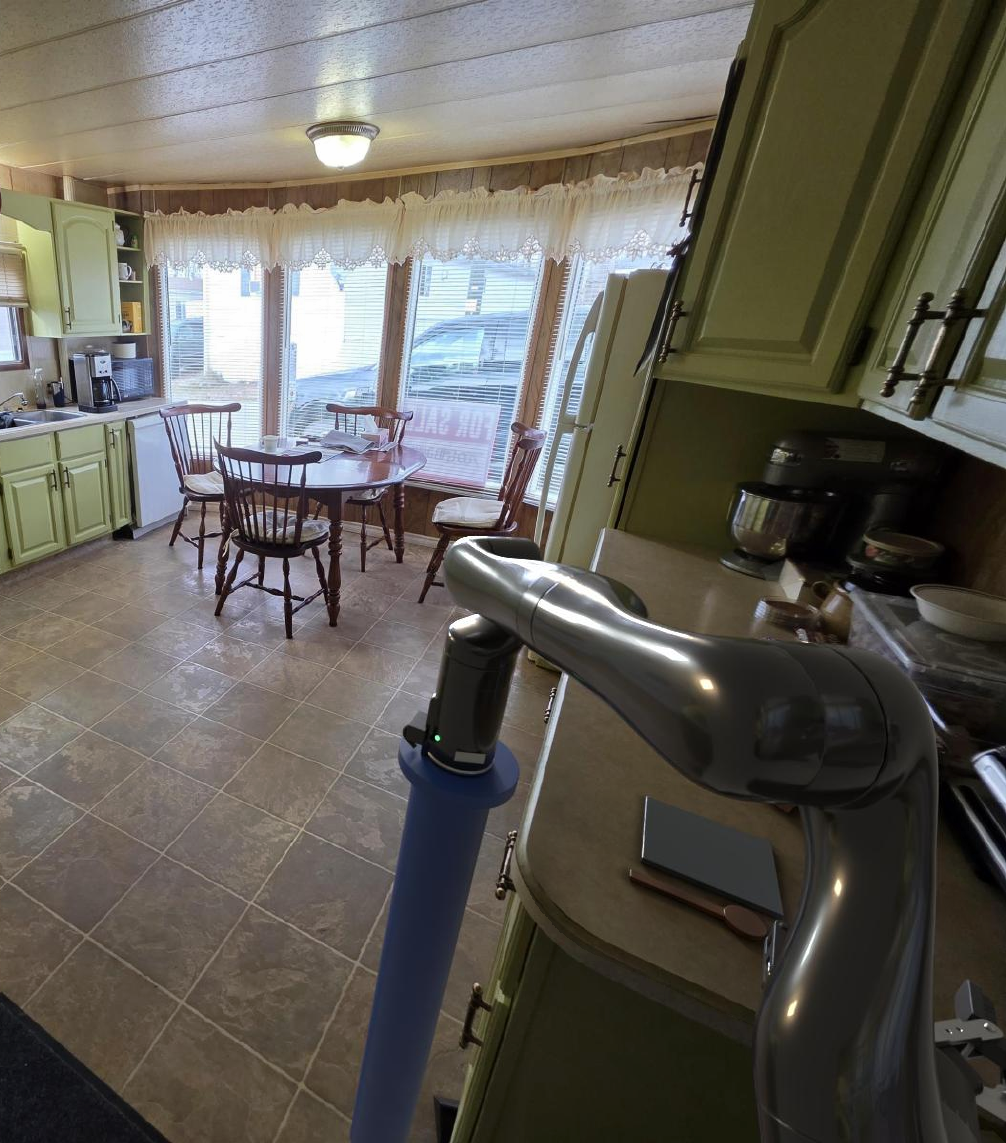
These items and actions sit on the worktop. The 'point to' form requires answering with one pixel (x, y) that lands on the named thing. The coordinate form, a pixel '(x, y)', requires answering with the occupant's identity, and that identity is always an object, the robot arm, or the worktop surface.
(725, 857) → the slate board
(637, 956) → the worktop surface
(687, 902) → the spoon
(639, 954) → the worktop surface
